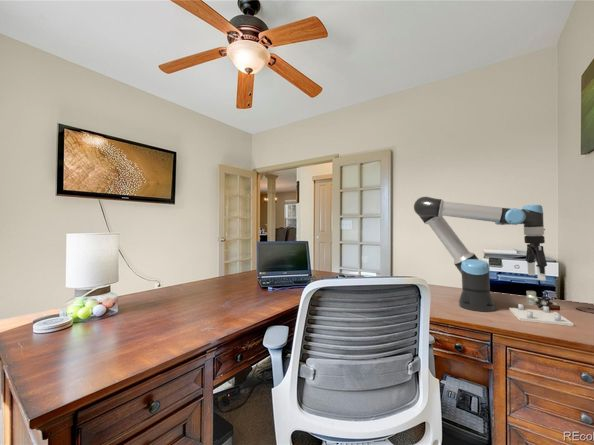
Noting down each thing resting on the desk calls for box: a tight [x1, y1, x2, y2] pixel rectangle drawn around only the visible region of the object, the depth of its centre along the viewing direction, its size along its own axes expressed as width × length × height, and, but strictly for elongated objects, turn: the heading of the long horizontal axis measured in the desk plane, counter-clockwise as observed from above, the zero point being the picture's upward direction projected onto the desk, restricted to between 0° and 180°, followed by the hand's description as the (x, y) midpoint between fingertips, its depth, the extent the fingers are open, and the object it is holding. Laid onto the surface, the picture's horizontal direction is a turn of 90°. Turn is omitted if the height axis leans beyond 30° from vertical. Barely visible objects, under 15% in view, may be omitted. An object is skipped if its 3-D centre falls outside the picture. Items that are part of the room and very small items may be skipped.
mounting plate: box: [509, 303, 574, 327], centre depth 116 cm, size 17×16×4 cm
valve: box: [525, 290, 554, 310], centre depth 131 cm, size 7×7×12 cm
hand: (536, 277), depth 131 cm, fingers open, 13 cm apart
